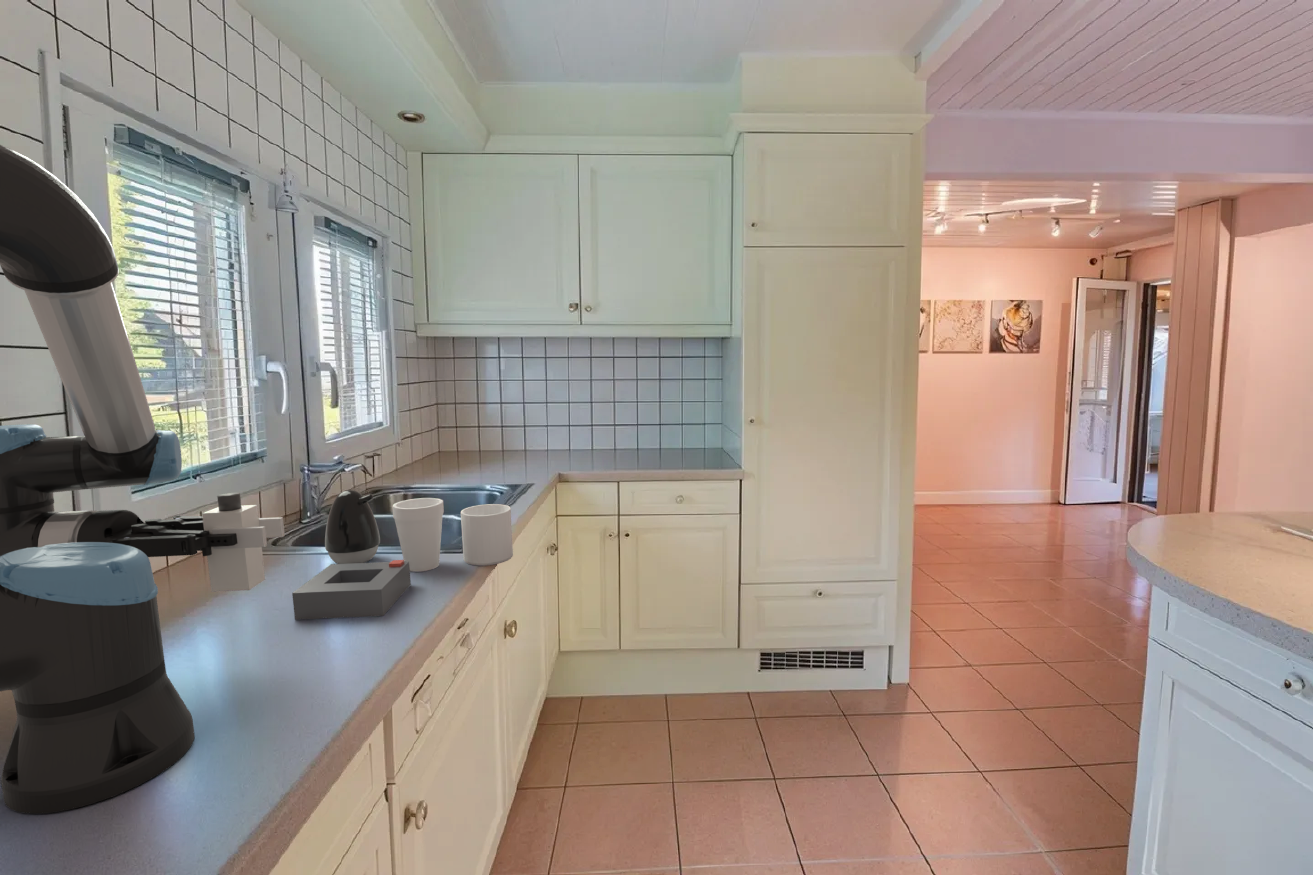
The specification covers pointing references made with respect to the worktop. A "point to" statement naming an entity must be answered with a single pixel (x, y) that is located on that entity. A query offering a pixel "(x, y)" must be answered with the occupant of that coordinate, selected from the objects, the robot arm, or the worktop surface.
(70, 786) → the robot arm
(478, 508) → the mug
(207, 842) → the worktop surface
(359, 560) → the pump dispenser
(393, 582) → the socket
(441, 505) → the foam cup
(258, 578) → the plug
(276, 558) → the worktop surface
